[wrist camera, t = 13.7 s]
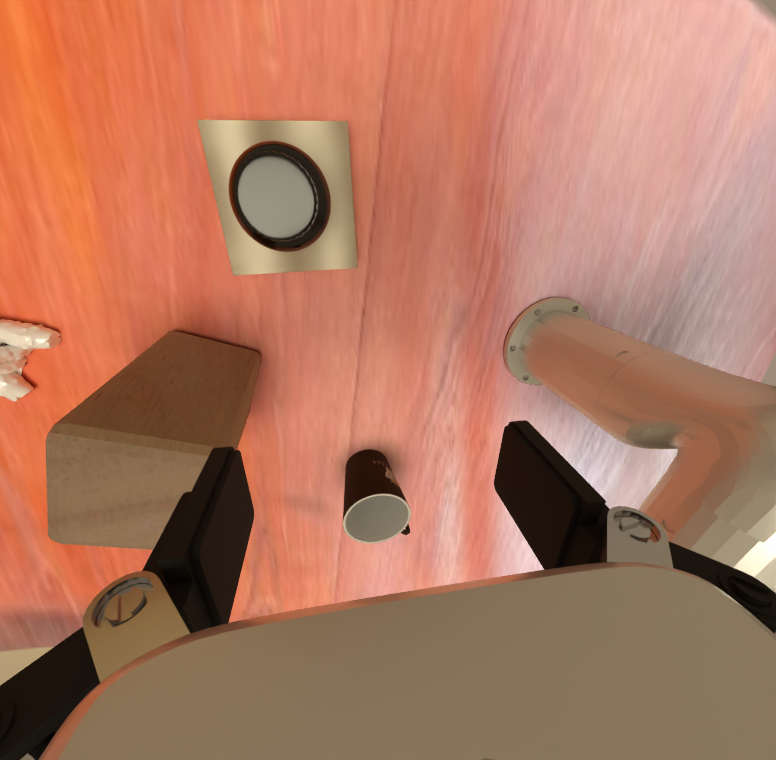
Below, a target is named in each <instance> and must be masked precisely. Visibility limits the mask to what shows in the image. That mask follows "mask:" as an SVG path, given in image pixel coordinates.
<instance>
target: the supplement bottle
mask: <svg viewBox="0 0 776 760" xmlns="http://www.w3.org/2000/svg"><path fill="white" fill-rule="evenodd" d="M229 199H230V204H231V207H232V210H233V213H234V215H235V217H236V219H237V221H238V223H239V224H240V226H241V227H242V228H243V230H244V231H245V232H246V233H247V234H248V235H249V236H250V237H251V238H252V239H253V240H255V241H256V242H258V243H259V244H261V245H262V246H264V247H266V248H269V249H272V250H275V251H280V252H294V251H299V250H302V249H305V248H307V247H309V246H310V245H312V244H313V243H314V242H315V241H317V240H318V239H319V237H320V236H321V235H322V234H323V232H324V230H325V229H326V226H327V224H328V221H329V217H330V212H331V197H330V191H329V187H328V184H327V181H326V179H325V177H324V175H323V173H322V171H321V170H320V168H319V167H318V165H317V164H316V163H315V161H314V160H313V159H312V158H311V157H310V156H309V155H308V154H306V153H305V152H304V151H302V150H301V149H299V148H297V147H296V146H294V145H291V144H289V143H285V142H281V141H264V142H260V143H257V144H254V145H252V146H251V147H249V148H247V149H246V150H245V151H244V152H243V153H242V154H241V155H240V156H239V157H238V158H237V160H236V162H235V163H234V165H233V168H232V170H231V173H230V178H229Z"/></svg>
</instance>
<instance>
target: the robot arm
mask: <svg viewBox="0 0 776 760" xmlns="http://www.w3.org/2000/svg"><path fill="white" fill-rule="evenodd" d="M504 360H505V364H506V366H507V368H508V370H509V371H510V373H511V374H512V375H513V376H514V377H515V378H517V379H518V380H519V381H521V382H523V383H526V384H530V385H545V386H546V387H547V388H548V389H550V390H551V391H552V392H554V393H555V394H556V395H558V396H559V397H560V398H562V399H563V400H564V401H566V402H567V403H568V404H570V405H571V406H572V407H574V408H575V409H576V410H578V411H579V412H580V413H582V414H583V415H584V416H586V417H587V418H588V419H590V420H591V421H592V422H594V423H595V424H596V425H598V426H599V427H600V428H602V429H603V430H605V431H606V432H607V433H609V434H610V435H611V436H613V437H614V438H616V439H617V440H619V441H621V442H623V443H625V444H628V445H631V446H634V447H639V448H646V449H678V453H677V456H676V457H675V459H674V460H673V462H672V463H671V465H670V466H669V468H668V470H667V471H666V473H665V474H664V475H663V477H662V478H661V479H660V481H659V482H658V483H657V485H656V486H655V487H654V489H653V490H652V491H651V493H650V494H649V495H648V496H647V498H646V499H645V500H644V502H643V503H642V504H641V506H640V508H639V509H638V510H636V509H633V508H629V507H622V506H618V507H613V508H612V509H609V508H608V507H607V506H606V505H605V502H606V501H605V500H604V499H603V498H602V497H601V496H600V494H599V493H598V492H597V491H596V490H595V489H594V488H593V487H592V486H591V485H590V484H589V483H588V482H587V481H586V480H585V479H584V478H583V477H582V476H581V475H580V474H579V473H578V472H577V471H576V470H575V469H574V468H573V467H572V466H571V465H570V464H569V463H568V462H567V461H566V460H565V459H564V458H563V457H562V456H561V455H560V454H559V453H558V452H557V451H556V450H555V449H554V448H553V447H552V446H551V445H550V443H549V442H548V441H547V440H546V439H545V438H544V437H543V436H542V435H541V434H540V433H539V432H538V431H537V430H536V429H535V428H534V427H533V426H532V425H531V424H530V423H529V422H528V421H525V420H524V421H513V422H510V423H509V424H508V426H506V427H505V428H504V433H503V438H502V443H501V448H500V453H499V458H498V464H497V469H496V474H495V479H494V486H495V490H496V492H497V493H498V495H499V497H500V498H501V500H502V502H503V503H504V505H505V506H506V508H507V510H508V511H509V513H510V515H511V516H512V518H513V519H514V521H515V523H516V524H517V526H518V528H519V529H520V531H521V532H522V534H523V536H524V537H525V539H526V541H527V542H528V544H529V545H530V547H531V549H532V550H533V552H534V554H535V555H536V557H537V558H538V560H539V562H540V563H541V565H542V567H543V568H544V570H540V571H534V572H528V573H521V574H515V575H508V576H502V577H495V578H489V579H483V580H476V581H470V582H464V583H457V584H451V585H445V586H439V587H432V588H426V589H420V590H414V591H408V592H402V593H395V594H389V595H383V596H377V597H371V598H365V599H359V600H353V601H347V602H341V603H335V604H329V605H323V606H317V607H311V608H305V609H299V610H294V611H289V612H283V613H278V614H272V615H267V616H261V617H256V618H251V619H245V620H240V621H236V622H232V623H228V622H229V618H230V614H231V610H232V606H233V602H234V598H235V594H236V590H237V586H238V582H239V577H240V573H241V569H242V565H243V561H244V557H245V553H246V549H247V545H248V541H249V536H250V532H251V528H252V524H253V520H254V509H253V504H252V500H251V495H250V491H249V487H248V483H247V478H246V474H245V470H244V465H243V461H242V457H241V453H240V451H239V450H234V448H233V447H232V446H229V447H218V448H213V449H212V451H211V453H210V455H209V457H208V459H207V461H206V463H205V465H204V467H203V469H202V471H201V473H200V475H199V477H198V479H197V481H196V483H195V485H194V487H193V489H192V491H190V492H185V493H184V494H183V495H182V496H181V498H180V500H179V502H178V503H177V505H176V507H175V509H174V511H173V513H172V515H171V517H170V519H169V521H168V523H167V524H166V526H165V528H164V530H163V532H162V534H161V536H160V538H159V540H158V542H157V544H156V545H155V547H154V549H153V551H152V553H151V555H150V557H149V559H148V561H147V563H146V565H145V567H144V568H143V570H142V571H139V572H134V573H131V574H128V575H125V576H123V577H121V578H119V579H117V580H115V581H114V582H112V583H111V584H109V585H108V586H107V587H105V588H104V589H103V590H102V591H101V592H100V593H99V594H98V595H97V596H96V597H95V598H94V599H93V600H92V602H91V603H90V605H89V606H88V607H87V609H86V612H85V614H84V617H83V627H82V628H81V629H79V630H78V631H76V632H75V633H73V634H72V635H71V636H69V637H68V638H66V639H65V640H64V641H62V642H61V643H59V644H58V645H57V646H55V647H54V648H52V649H51V650H50V651H48V652H47V653H45V654H44V655H43V656H41V657H40V658H39V659H37V660H36V661H34V662H33V663H31V664H30V665H29V666H27V667H26V668H24V669H23V670H22V671H20V672H19V673H17V674H16V675H15V676H13V677H12V678H10V679H9V680H8V681H6V682H5V683H3V684H2V685H1V686H0V760H776V386H771V385H768V384H764V383H760V382H757V381H753V380H750V379H746V378H743V377H739V376H736V375H732V374H729V373H726V372H723V371H720V370H717V369H714V368H712V367H709V366H706V365H703V364H700V363H698V362H695V361H692V360H689V359H687V358H684V357H682V356H679V355H677V354H674V353H671V352H668V351H666V350H663V349H661V348H658V347H656V346H653V345H651V344H648V343H645V342H643V341H640V340H638V339H635V338H633V337H630V336H628V335H625V334H622V333H620V332H617V331H615V330H612V329H610V328H607V327H605V326H602V325H599V324H597V323H594V322H592V321H590V318H589V315H588V313H587V312H586V310H585V309H584V308H583V307H582V306H581V305H580V304H579V303H577V302H575V301H573V300H570V299H567V298H561V297H555V298H548V299H545V300H542V301H539V302H537V303H535V304H533V305H532V306H531V307H529V308H528V309H526V310H525V311H524V312H523V313H522V314H521V315H520V316H519V317H518V318H517V320H516V321H515V322H514V323H513V325H512V327H511V329H510V330H509V332H508V335H507V337H506V340H505V345H504Z"/></svg>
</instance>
